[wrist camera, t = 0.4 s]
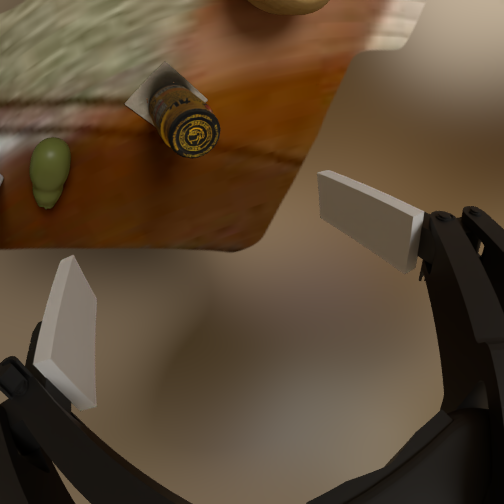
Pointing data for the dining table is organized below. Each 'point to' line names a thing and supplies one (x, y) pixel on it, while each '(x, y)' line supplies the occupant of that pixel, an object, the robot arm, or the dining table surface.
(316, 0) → the pot
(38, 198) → the pear
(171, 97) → the condiment
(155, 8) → the dining table surface
